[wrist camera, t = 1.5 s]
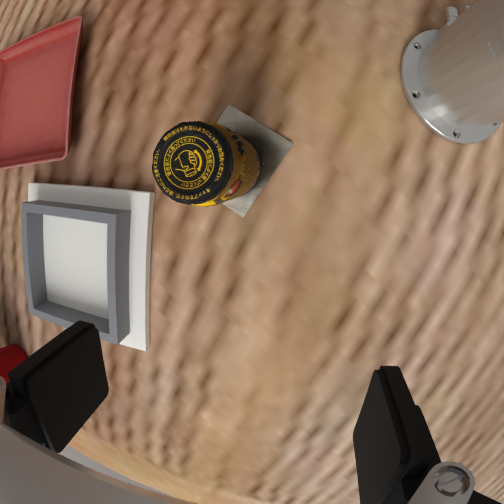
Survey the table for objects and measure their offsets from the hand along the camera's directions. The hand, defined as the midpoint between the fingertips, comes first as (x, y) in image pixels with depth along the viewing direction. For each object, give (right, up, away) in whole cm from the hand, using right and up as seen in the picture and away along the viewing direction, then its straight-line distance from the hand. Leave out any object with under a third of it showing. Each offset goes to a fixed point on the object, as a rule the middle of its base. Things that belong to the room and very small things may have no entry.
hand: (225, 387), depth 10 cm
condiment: (-1, +13, +21) cm, 24 cm away
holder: (-19, +3, +25) cm, 32 cm away
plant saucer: (-27, +24, +22) cm, 43 cm away
